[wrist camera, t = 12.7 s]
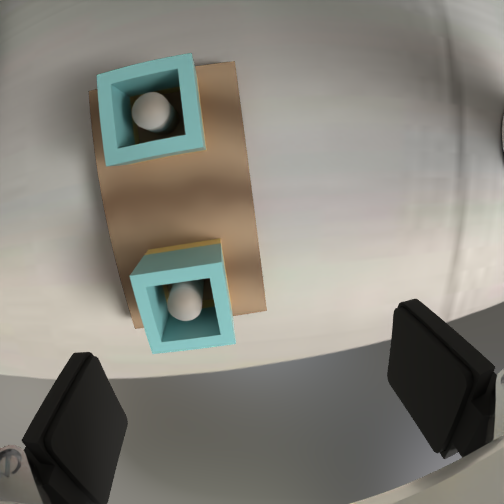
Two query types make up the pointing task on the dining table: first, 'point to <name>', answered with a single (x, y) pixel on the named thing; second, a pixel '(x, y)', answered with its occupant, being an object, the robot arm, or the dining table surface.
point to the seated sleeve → (130, 89)
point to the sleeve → (156, 296)
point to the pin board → (186, 195)
